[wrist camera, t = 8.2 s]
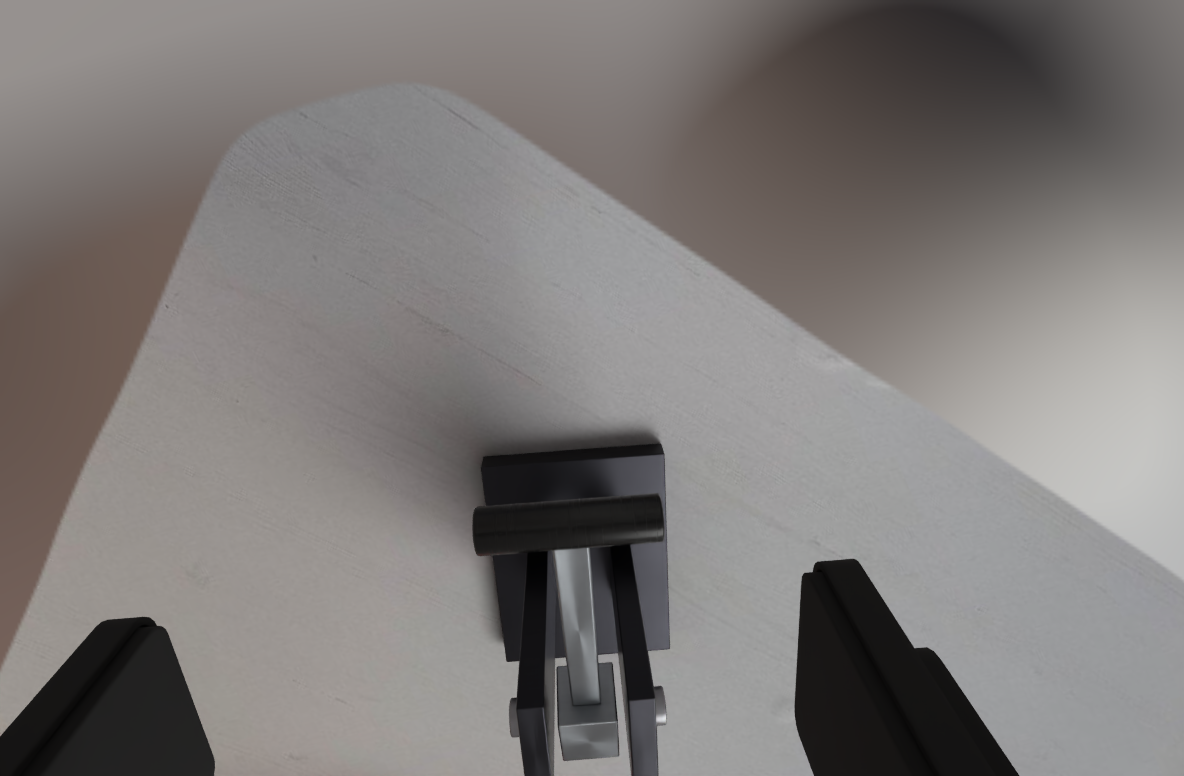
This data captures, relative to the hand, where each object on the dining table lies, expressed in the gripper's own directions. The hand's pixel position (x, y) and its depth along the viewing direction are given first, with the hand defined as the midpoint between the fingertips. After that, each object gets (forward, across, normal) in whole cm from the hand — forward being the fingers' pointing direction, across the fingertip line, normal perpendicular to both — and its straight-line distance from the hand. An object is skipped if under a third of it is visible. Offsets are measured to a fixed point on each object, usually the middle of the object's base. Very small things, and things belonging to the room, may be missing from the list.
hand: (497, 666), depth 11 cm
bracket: (+24, -1, +15) cm, 28 cm away
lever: (+12, -1, +9) cm, 16 cm away
